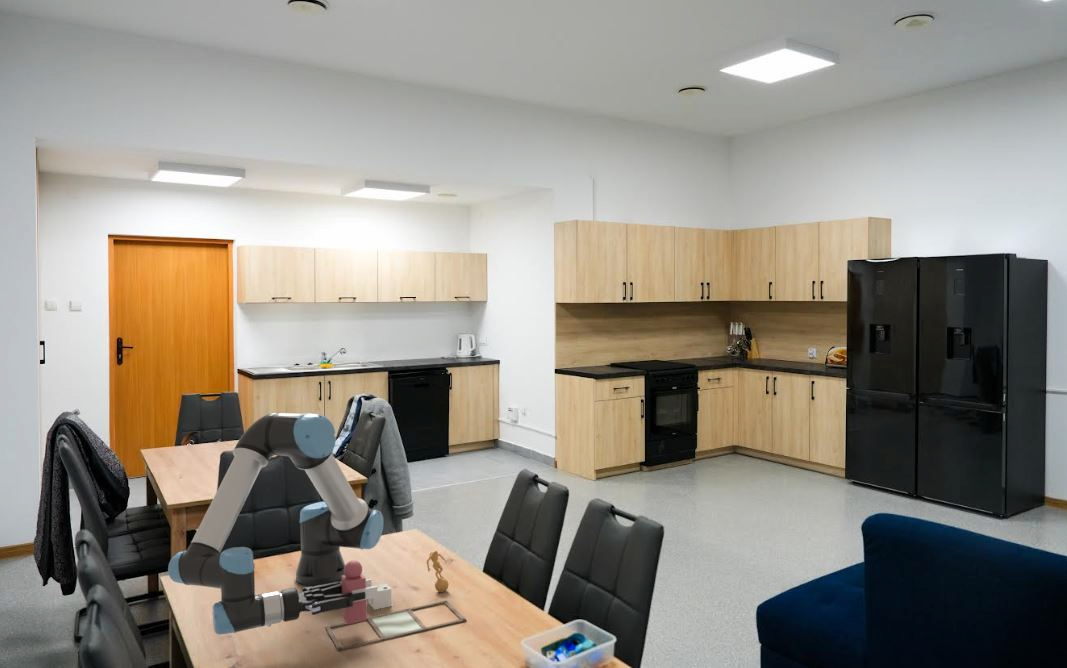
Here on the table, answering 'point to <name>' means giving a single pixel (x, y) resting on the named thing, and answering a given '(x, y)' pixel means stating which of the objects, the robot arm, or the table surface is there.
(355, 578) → the pawn
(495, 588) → the table surface
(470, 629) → the table surface
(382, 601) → the die
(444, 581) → the figurine
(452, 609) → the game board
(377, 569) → the table surface
